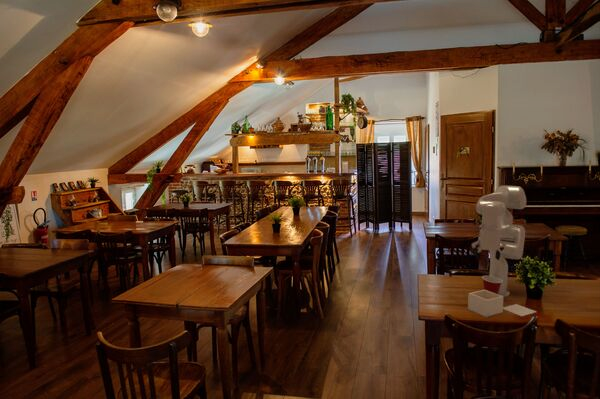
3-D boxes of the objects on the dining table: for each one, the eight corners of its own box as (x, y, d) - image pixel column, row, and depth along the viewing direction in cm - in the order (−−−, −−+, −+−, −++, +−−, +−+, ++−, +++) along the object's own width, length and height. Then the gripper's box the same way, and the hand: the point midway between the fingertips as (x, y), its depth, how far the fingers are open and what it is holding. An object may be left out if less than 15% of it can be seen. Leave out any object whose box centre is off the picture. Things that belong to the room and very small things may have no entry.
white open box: (467, 309, 230) (468, 293, 228) (483, 305, 235) (484, 289, 234) (486, 317, 219) (487, 300, 218) (502, 313, 224) (503, 296, 223)
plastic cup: (501, 303, 237) (502, 282, 236) (480, 300, 242) (481, 279, 241) (502, 297, 247) (503, 276, 245) (482, 293, 252) (483, 274, 250)
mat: (501, 309, 230) (501, 308, 229) (516, 304, 235) (516, 304, 235) (521, 317, 219) (521, 316, 219) (536, 312, 224) (536, 311, 224)
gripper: (475, 228, 217) (474, 261, 219) (509, 228, 217) (508, 261, 219) (469, 225, 224) (468, 257, 227) (503, 225, 224) (501, 257, 227)
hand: (487, 259), depth 223 cm, fingers open, 9 cm apart
